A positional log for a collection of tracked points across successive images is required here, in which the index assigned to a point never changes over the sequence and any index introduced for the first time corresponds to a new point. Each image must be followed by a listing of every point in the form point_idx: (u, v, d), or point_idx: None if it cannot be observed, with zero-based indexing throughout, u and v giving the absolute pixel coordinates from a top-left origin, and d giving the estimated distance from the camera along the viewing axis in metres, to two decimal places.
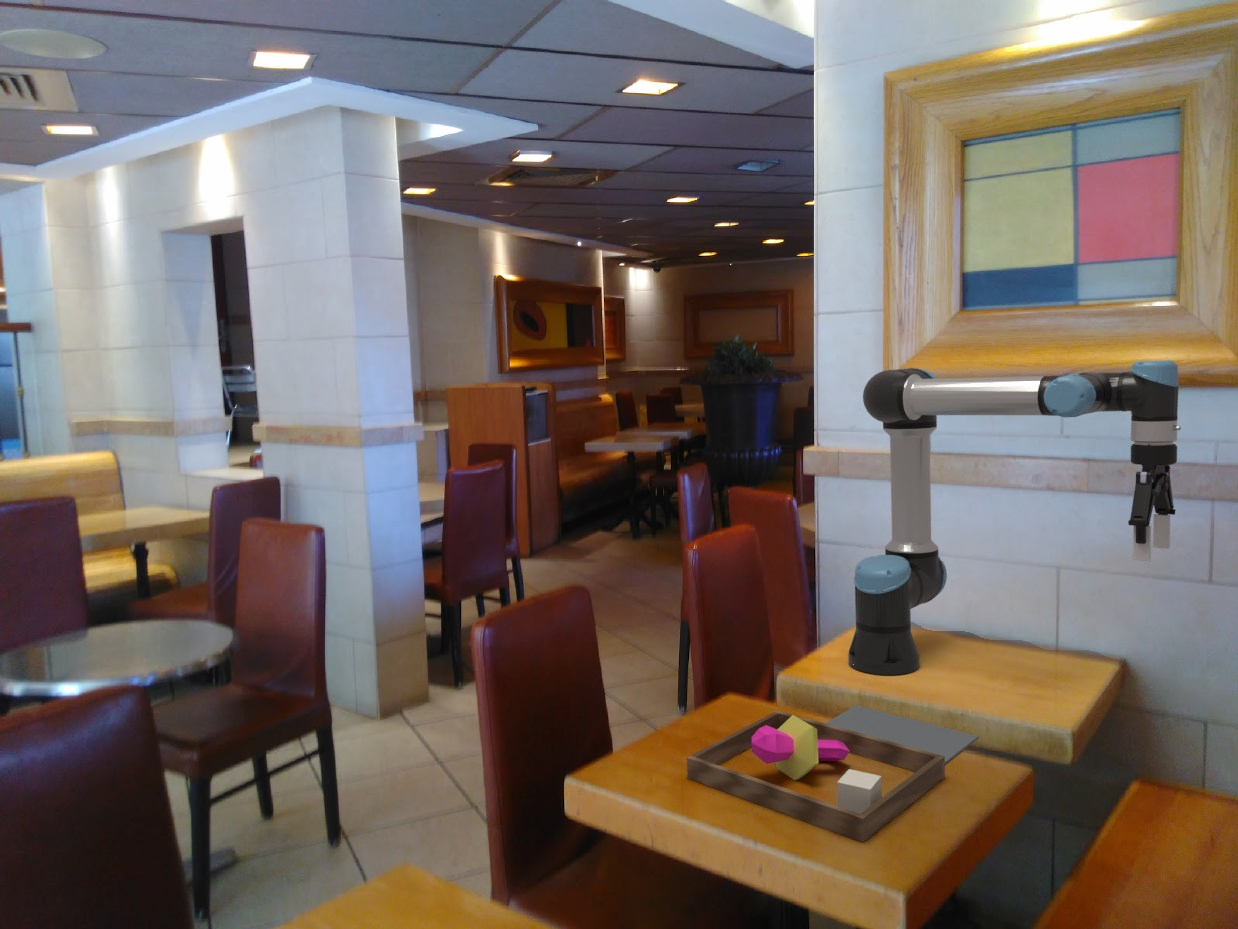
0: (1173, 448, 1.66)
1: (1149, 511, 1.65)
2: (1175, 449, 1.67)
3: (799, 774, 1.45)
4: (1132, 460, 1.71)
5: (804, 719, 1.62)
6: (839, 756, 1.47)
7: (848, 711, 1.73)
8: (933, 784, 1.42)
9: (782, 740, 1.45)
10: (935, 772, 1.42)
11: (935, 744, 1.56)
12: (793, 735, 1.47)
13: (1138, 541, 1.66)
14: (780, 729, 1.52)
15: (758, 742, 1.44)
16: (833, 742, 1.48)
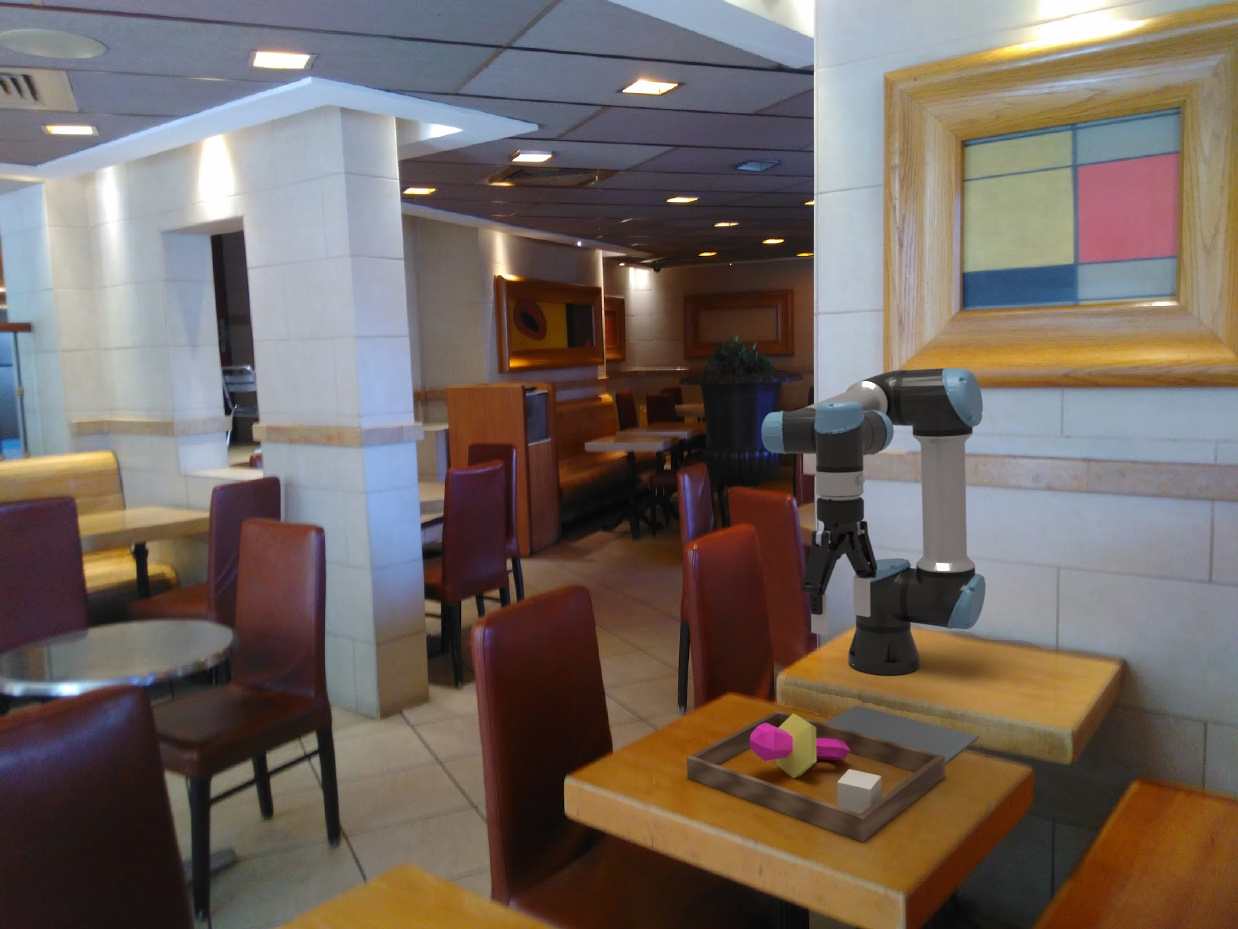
0: (855, 504, 1.44)
1: (825, 577, 1.42)
2: (859, 505, 1.44)
3: (797, 772, 1.46)
4: (817, 516, 1.48)
5: (804, 719, 1.62)
6: (839, 755, 1.48)
7: (848, 711, 1.73)
8: (933, 784, 1.42)
9: (781, 738, 1.46)
10: (935, 772, 1.42)
11: (935, 744, 1.56)
12: (792, 733, 1.48)
13: (813, 612, 1.43)
14: (781, 727, 1.53)
15: (756, 739, 1.45)
16: (833, 741, 1.48)
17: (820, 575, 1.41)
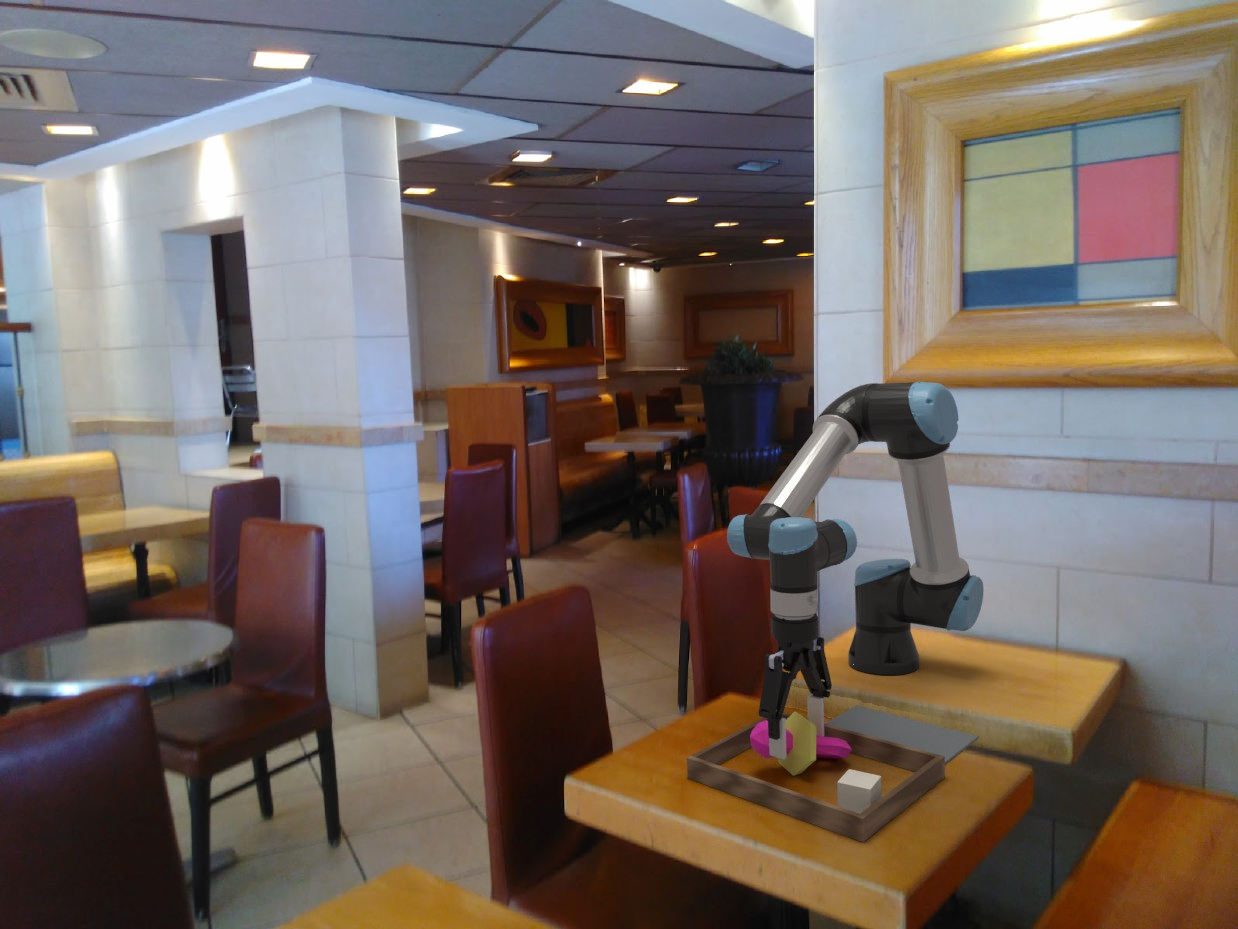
0: (809, 624, 1.43)
1: (781, 701, 1.42)
2: (812, 625, 1.43)
3: (797, 770, 1.47)
4: None
5: None
6: (839, 754, 1.48)
7: (848, 711, 1.73)
8: (933, 784, 1.42)
9: None
10: (935, 772, 1.42)
11: (935, 744, 1.56)
12: (793, 731, 1.49)
13: (770, 736, 1.43)
14: None
15: (756, 737, 1.46)
16: (833, 740, 1.48)
17: (775, 701, 1.41)
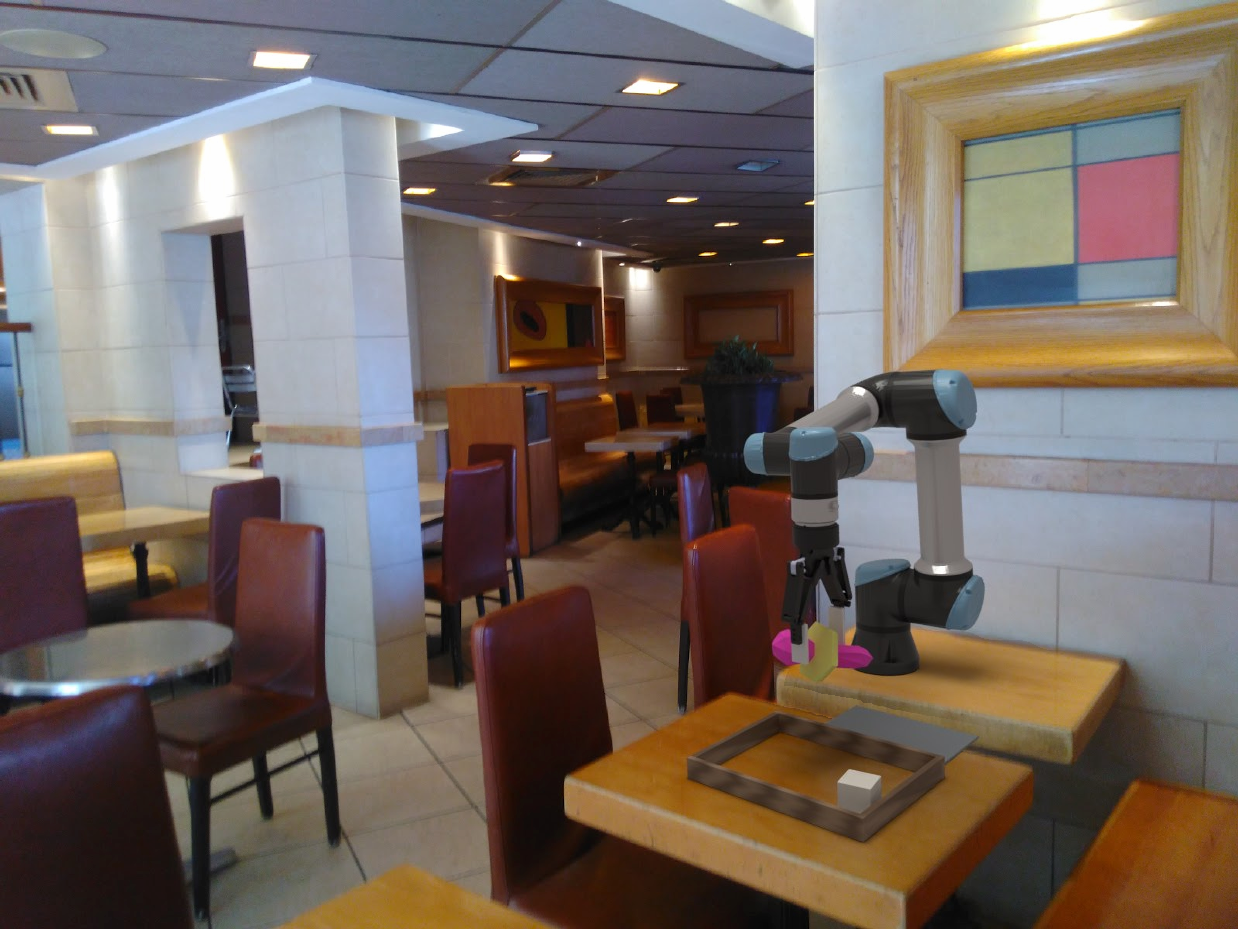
0: (830, 530, 1.44)
1: (803, 607, 1.44)
2: (834, 531, 1.44)
3: (819, 676, 1.48)
4: None
5: (804, 719, 1.62)
6: (861, 661, 1.50)
7: (848, 711, 1.73)
8: (933, 784, 1.42)
9: None
10: (935, 772, 1.42)
11: (935, 744, 1.56)
12: (814, 639, 1.50)
13: (793, 641, 1.45)
14: None
15: (778, 644, 1.48)
16: (855, 647, 1.50)
17: (798, 606, 1.42)
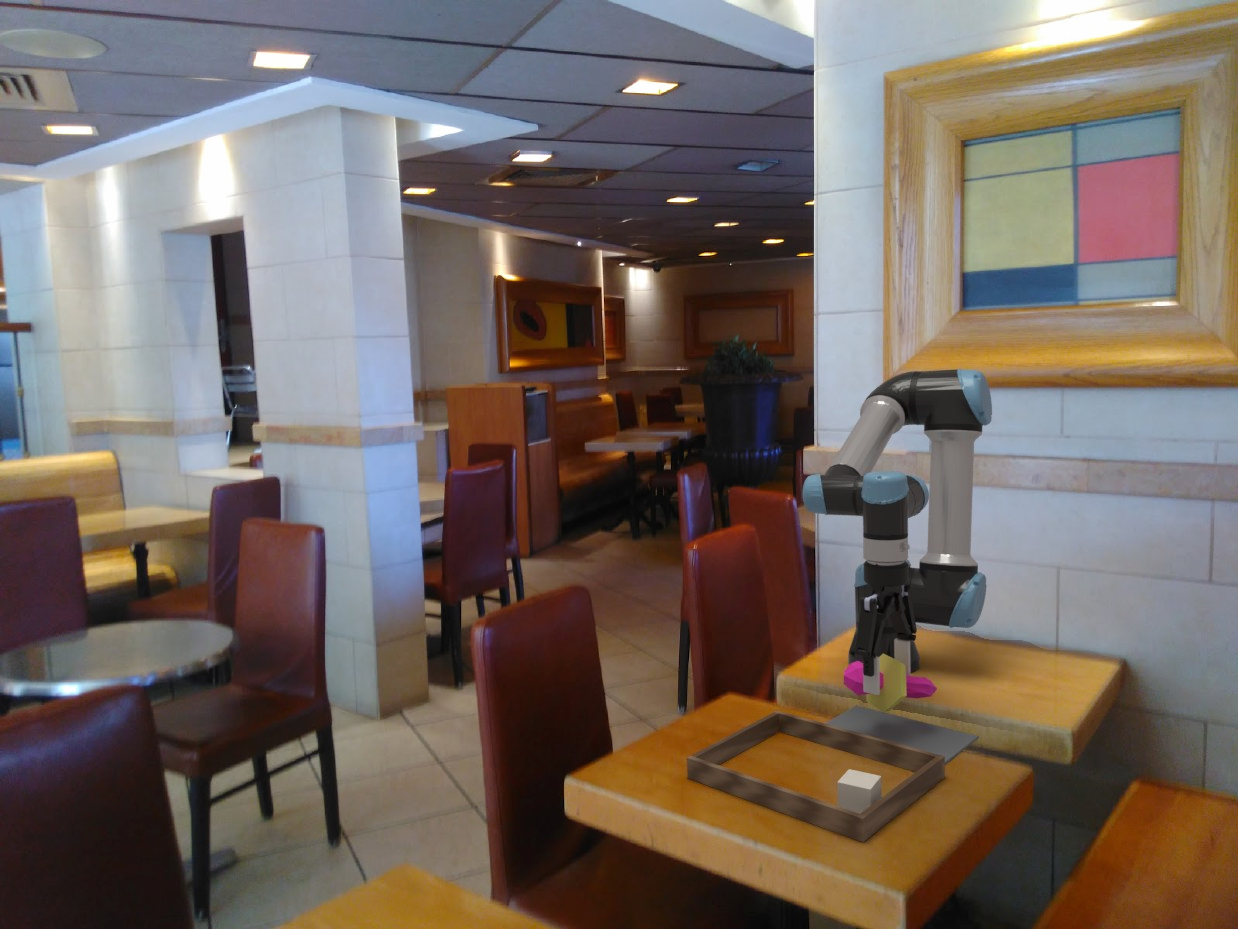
0: (901, 569, 1.54)
1: (876, 641, 1.53)
2: (904, 570, 1.54)
3: (888, 706, 1.58)
4: (864, 579, 1.58)
5: (804, 719, 1.62)
6: (926, 692, 1.59)
7: (848, 711, 1.73)
8: (933, 784, 1.42)
9: None
10: (935, 772, 1.42)
11: (935, 744, 1.56)
12: (883, 670, 1.60)
13: (865, 673, 1.54)
14: None
15: (850, 675, 1.57)
16: (921, 679, 1.59)
17: (871, 640, 1.52)
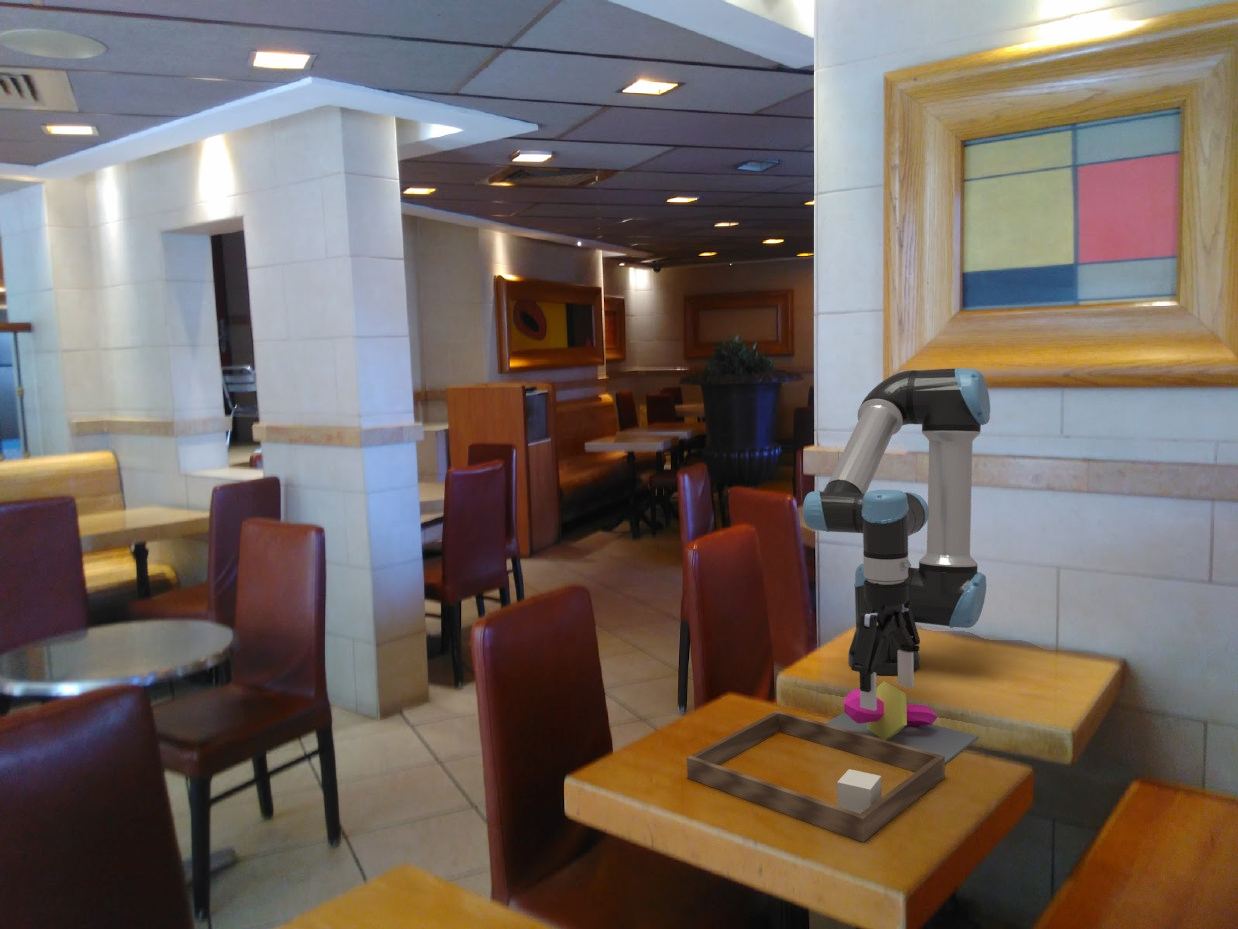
0: (901, 588, 1.54)
1: (873, 657, 1.53)
2: (904, 589, 1.54)
3: (888, 734, 1.58)
4: (864, 597, 1.58)
5: (804, 719, 1.62)
6: (927, 720, 1.59)
7: None
8: (933, 784, 1.42)
9: None
10: (935, 772, 1.42)
11: (935, 744, 1.56)
12: (883, 698, 1.60)
13: (862, 689, 1.53)
14: None
15: (850, 704, 1.58)
16: (921, 707, 1.60)
17: (869, 656, 1.52)
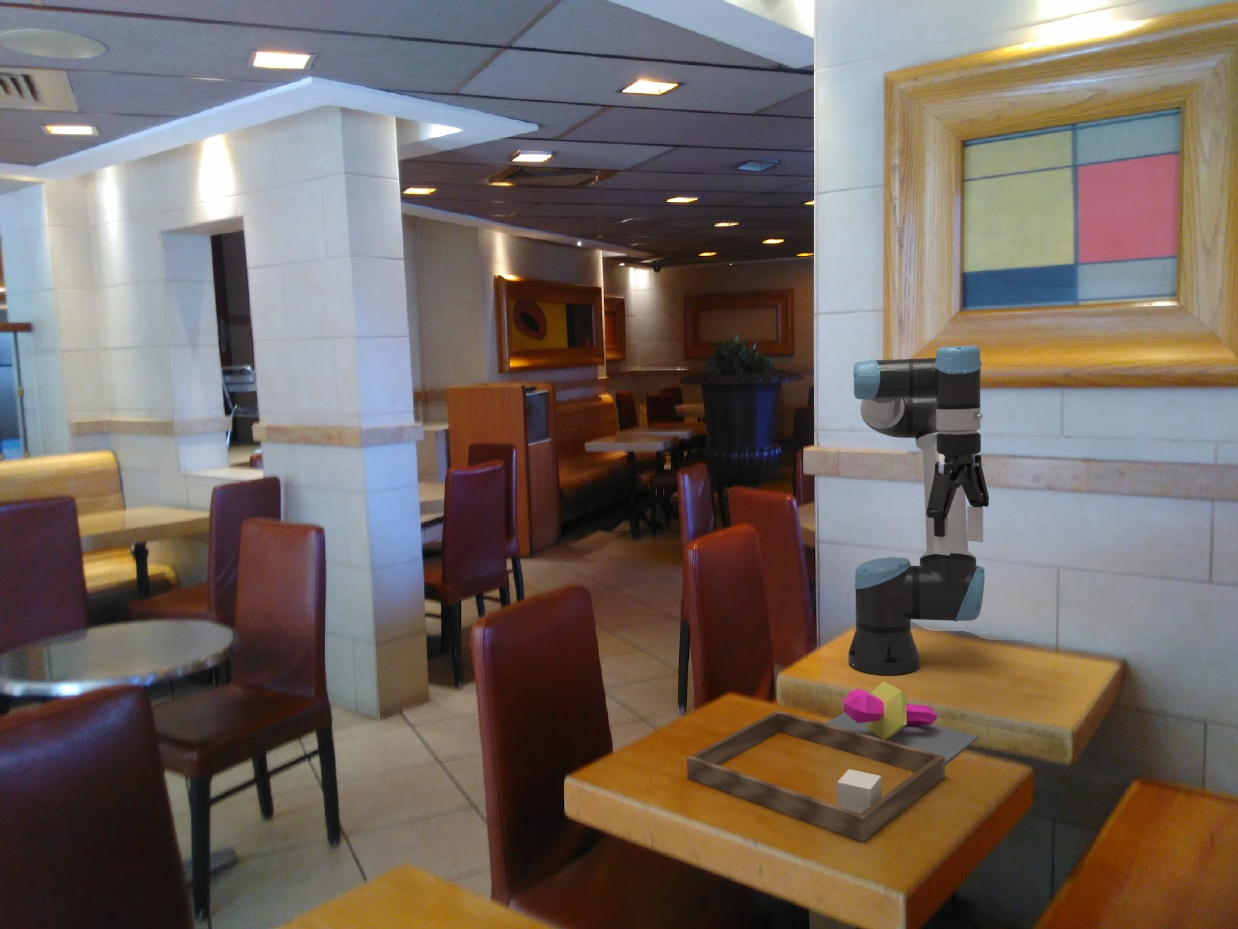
0: (974, 437, 1.60)
1: (947, 503, 1.59)
2: (977, 439, 1.60)
3: (888, 734, 1.58)
4: (937, 450, 1.64)
5: (804, 719, 1.62)
6: (927, 720, 1.59)
7: None
8: (933, 784, 1.42)
9: (873, 702, 1.58)
10: (935, 772, 1.42)
11: (935, 744, 1.56)
12: (883, 698, 1.60)
13: (936, 534, 1.59)
14: (872, 694, 1.65)
15: (850, 703, 1.58)
16: (921, 707, 1.60)
17: (943, 501, 1.57)
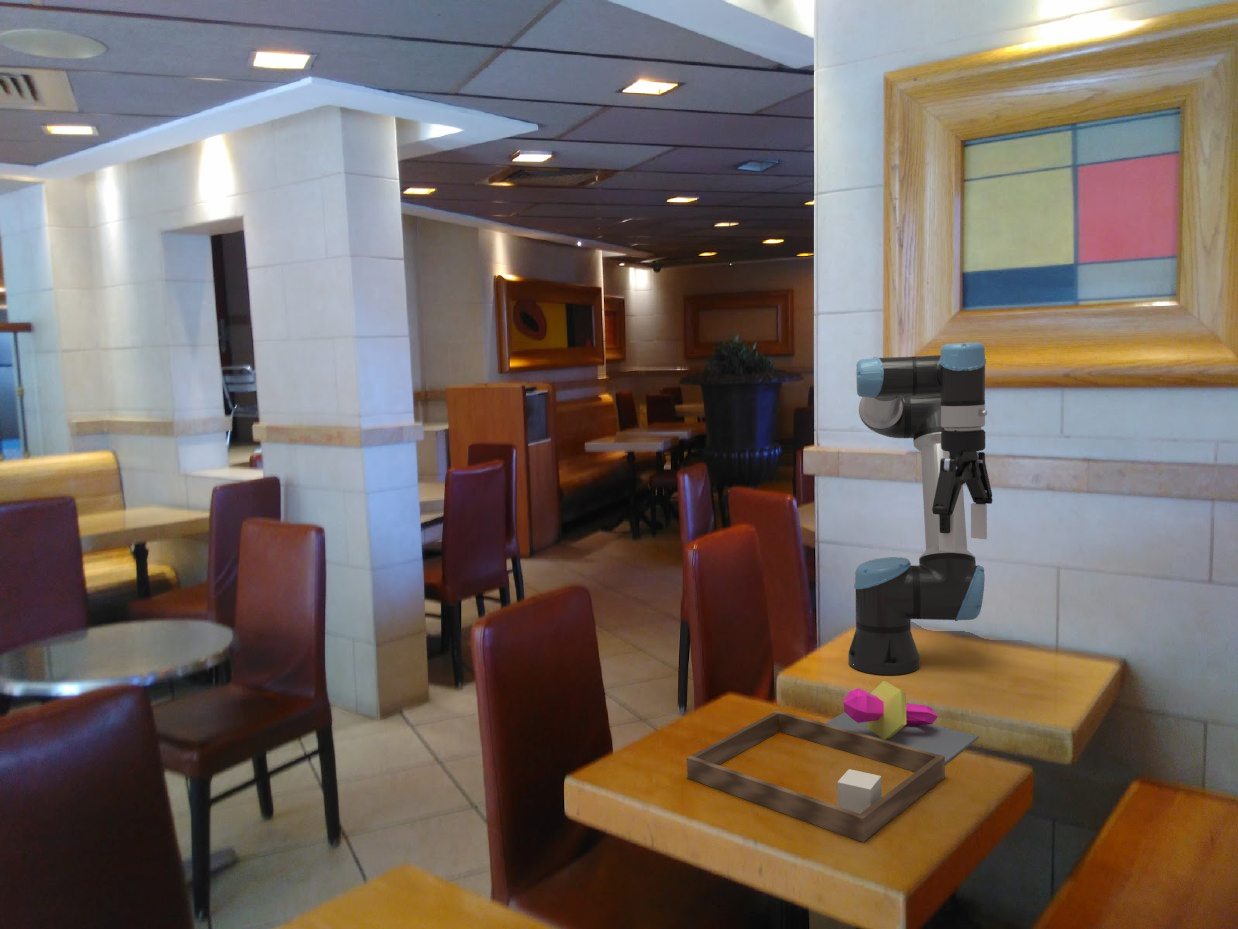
0: (979, 434, 1.60)
1: (953, 499, 1.59)
2: (982, 435, 1.60)
3: (888, 734, 1.58)
4: (941, 447, 1.64)
5: (804, 719, 1.62)
6: (927, 720, 1.59)
7: None
8: (933, 784, 1.42)
9: (873, 702, 1.58)
10: (935, 772, 1.42)
11: (935, 744, 1.56)
12: (883, 698, 1.60)
13: (942, 530, 1.59)
14: (872, 693, 1.65)
15: (850, 703, 1.58)
16: (921, 707, 1.60)
17: (949, 497, 1.58)
